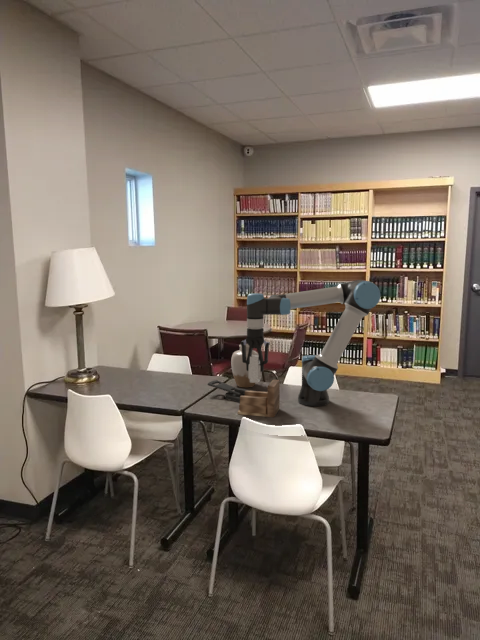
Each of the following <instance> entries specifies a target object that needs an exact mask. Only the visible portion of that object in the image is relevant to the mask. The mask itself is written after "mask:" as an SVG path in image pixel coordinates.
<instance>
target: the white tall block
mask: <svg viewBox="0 0 480 640" xmlns="http://www.w3.org/2000/svg"><path fill="white" fill-rule="evenodd" d="M259 364H260V360H259V355H251V356H250V382H251V383H255V384H259V383H260V382H261V379H259Z"/></svg>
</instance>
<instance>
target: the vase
mask: <svg viewBox="0 0 480 640" xmlns="http://www.w3.org/2000/svg"><path fill="white" fill-rule="evenodd" d="M238 346H239V350H235V351H234V352H232V355H231V361H230V363H231V364H230V365H231V372H232V376H233V379H234V381H235V383H236V386H237V388H242V389H246V388H247V389H248V388H252V387H254V386H255V385H256V383H251V382H250V379H248V374H249V371H247V370H246V363H243V362H242V346H241V343H240V344H239V345H238ZM248 352H249V345H248V343H246V360H247V356H248ZM252 355H258V351H256V350H254V349H253V350H252Z"/></svg>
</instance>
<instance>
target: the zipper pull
mask: <svg viewBox="0 0 480 640" xmlns="http://www.w3.org/2000/svg"><path fill="white" fill-rule="evenodd" d="M207 386H209V387H212V388H216V389H219V390H221V391H225V395H224V398H225V399H226V400H228V401H229V400H230V401H234V402H237V403H240V396H245V391H246V390H247V391H251V390H250V389H246V388H242V387H235V386H232V385H231V384H230V385H229V384H227V383H225V382H224V381H223V382H222V381H219V380H217V379H216V380H215V379H214V380H211V381H209V382H208V383H207Z"/></svg>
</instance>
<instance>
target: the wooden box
mask: <svg viewBox="0 0 480 640" xmlns="http://www.w3.org/2000/svg"><path fill="white" fill-rule="evenodd" d="M280 385H281V384H280V379H272V380H271V382H270V383H268V385H267V391H258V390H257V391H256V390H250V391H247V390H248V389H246V391H245V396H240V402H239V404H238V410H237V415H241V416H242V415H245V416H255V417H256V416H257V417H264V418H265V417H266V418H268V417H269V418H275V417H276V416H277V413H278V412H279V410H280V394H281V393H280V387H281V386H280Z"/></svg>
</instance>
